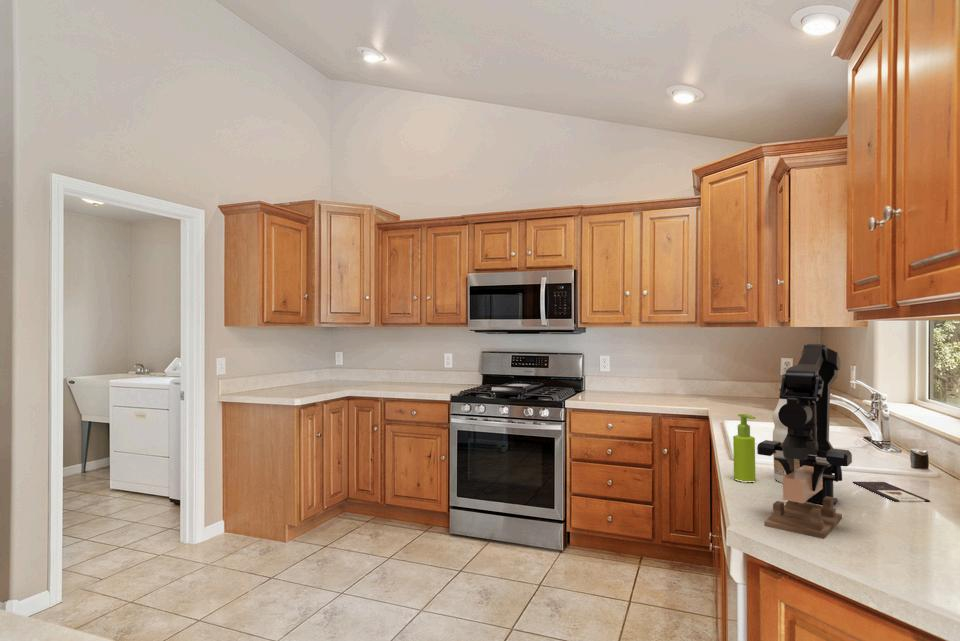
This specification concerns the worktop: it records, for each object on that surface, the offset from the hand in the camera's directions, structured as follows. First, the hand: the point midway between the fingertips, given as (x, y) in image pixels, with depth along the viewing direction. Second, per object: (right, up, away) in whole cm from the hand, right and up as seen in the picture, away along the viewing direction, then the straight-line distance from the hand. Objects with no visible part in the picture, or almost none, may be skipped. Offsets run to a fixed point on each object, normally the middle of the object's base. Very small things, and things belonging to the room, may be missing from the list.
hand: (803, 489), depth 131 cm
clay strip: (0, -1, 0) cm, 1 cm away
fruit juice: (+17, -9, +35) cm, 39 cm away
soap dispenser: (+3, -9, +36) cm, 37 cm away
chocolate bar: (+38, -9, +23) cm, 45 cm away
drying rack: (0, -8, 0) cm, 8 cm away
